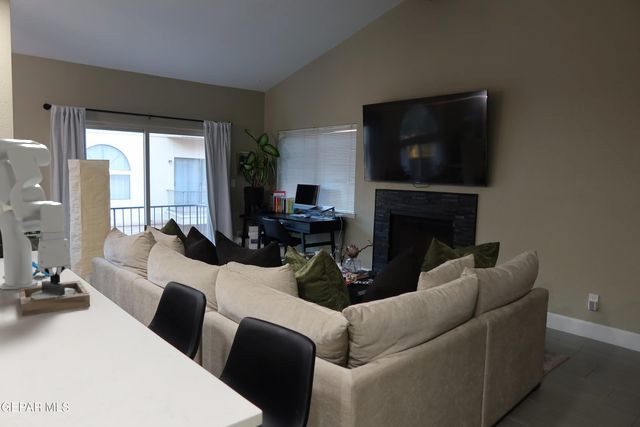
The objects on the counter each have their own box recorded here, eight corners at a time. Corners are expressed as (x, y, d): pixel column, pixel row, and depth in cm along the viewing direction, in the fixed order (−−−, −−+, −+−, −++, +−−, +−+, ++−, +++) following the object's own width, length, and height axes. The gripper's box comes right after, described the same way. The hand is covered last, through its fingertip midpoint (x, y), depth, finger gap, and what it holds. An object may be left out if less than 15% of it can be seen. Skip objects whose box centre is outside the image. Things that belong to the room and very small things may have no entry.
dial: (22, 298, 156) (21, 284, 156) (61, 289, 169) (60, 276, 168) (45, 305, 150) (44, 290, 149) (83, 295, 162) (83, 281, 161)
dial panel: (19, 298, 163) (18, 287, 163) (80, 290, 175) (79, 279, 174) (22, 315, 144) (21, 303, 143) (90, 305, 156) (90, 294, 155)
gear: (49, 275, 192) (30, 260, 189) (38, 285, 190) (18, 270, 187) (52, 273, 202) (34, 258, 199) (42, 283, 200) (23, 268, 197)
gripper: (29, 239, 153) (32, 290, 155) (77, 235, 163) (79, 284, 164) (27, 236, 159) (30, 286, 161) (74, 233, 169) (76, 280, 170)
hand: (55, 284), depth 163 cm, fingers closed
